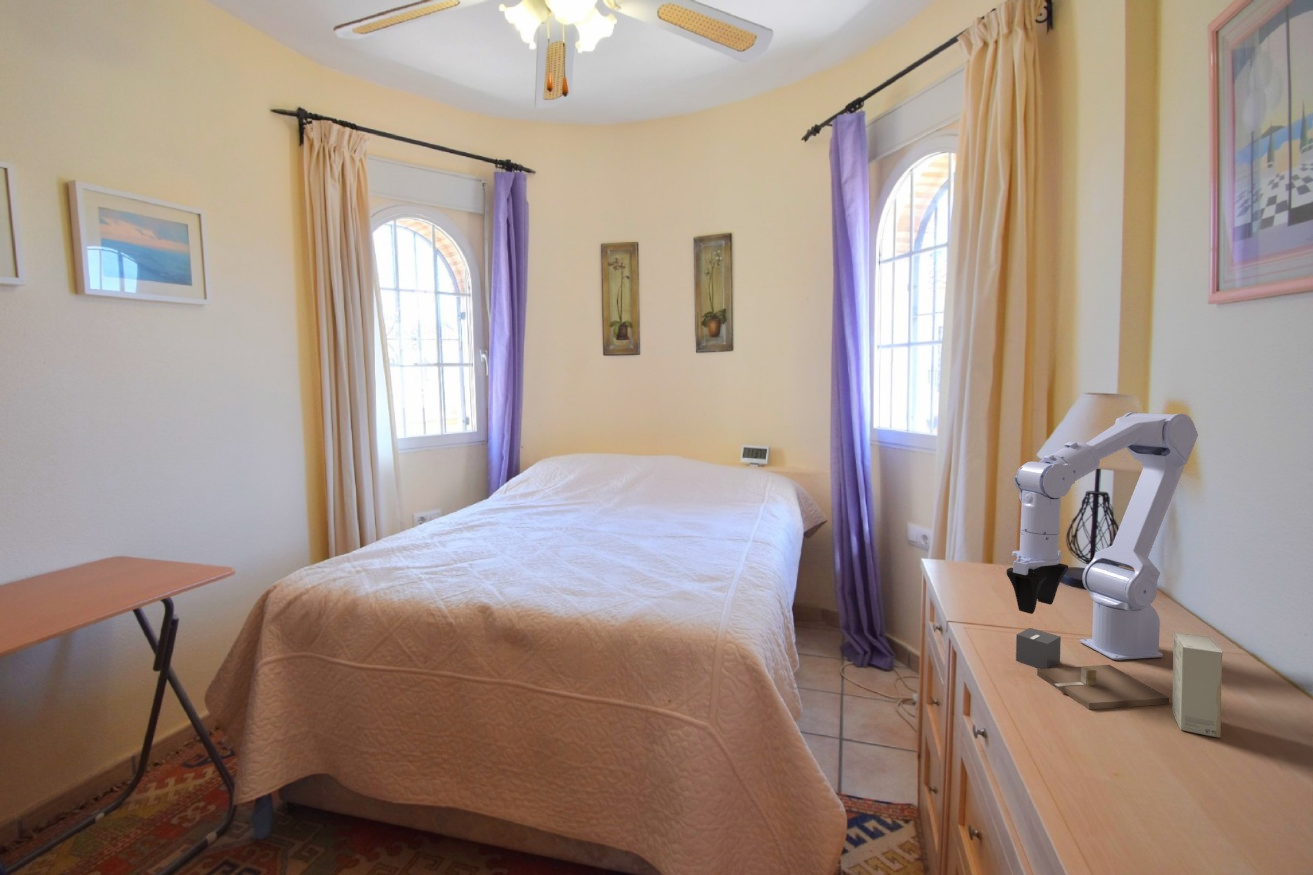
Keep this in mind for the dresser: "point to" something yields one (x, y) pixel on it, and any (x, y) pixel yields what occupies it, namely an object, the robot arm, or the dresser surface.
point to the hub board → (1102, 687)
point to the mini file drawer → (1038, 648)
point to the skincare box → (1197, 684)
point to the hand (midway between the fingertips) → (1035, 607)
